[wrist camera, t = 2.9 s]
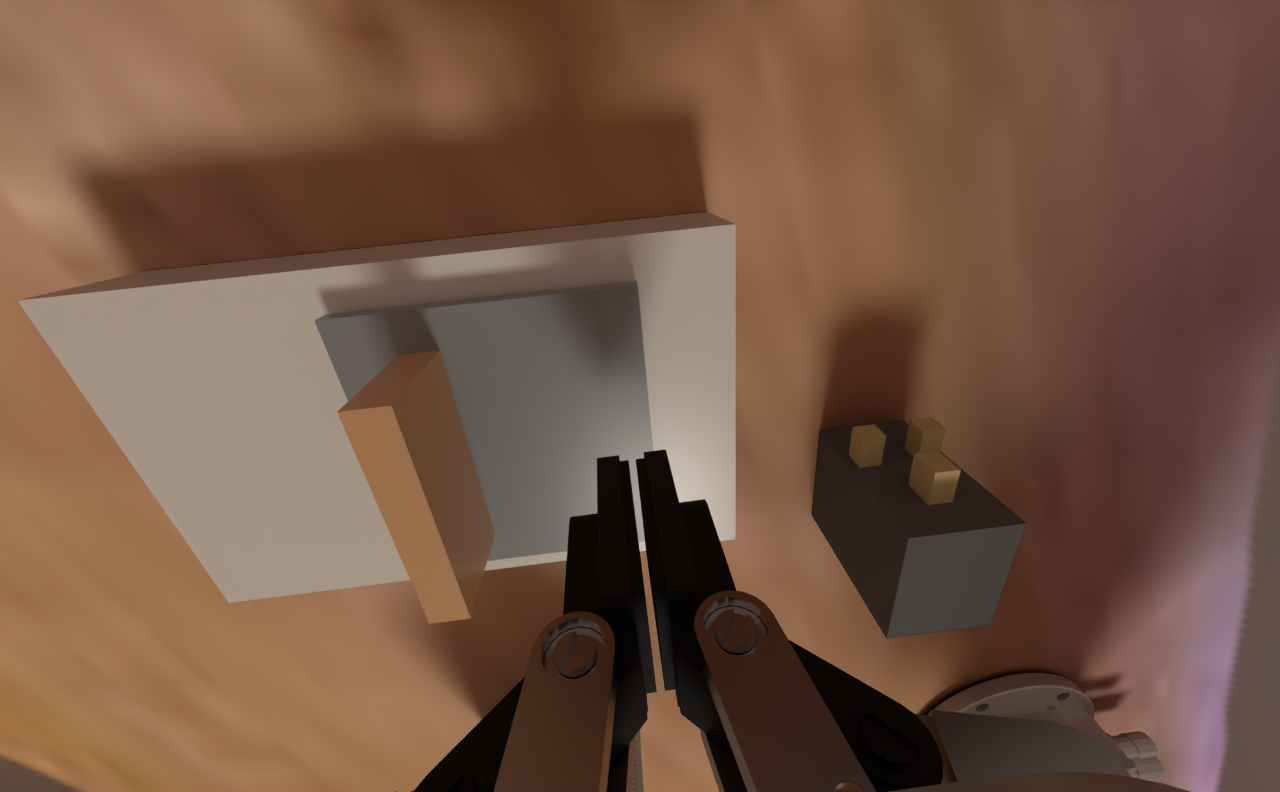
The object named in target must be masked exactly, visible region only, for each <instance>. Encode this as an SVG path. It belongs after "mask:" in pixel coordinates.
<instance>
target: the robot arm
mask: <svg viewBox="0 0 1280 792" xmlns="http://www.w3.org/2000/svg"><path fill="white" fill-rule="evenodd" d="M636 467H637V476H638V485H639V494H640V502H641V511H642V520H643V529H644V537H645V546H646V554H647V561H648V568H649V576H650V583H651V590H652V598H653V605H654V612H655V620H656V627H657V634H658V642H659V649H660V657H661V664H662V671H663V679H664V686H665V691H666V690H673V689H675V690H676V696H677V703H678V707H680V711H681V714H682V715H683V716H685V717H686V718H687V719H688V720H690V721H691V722H692V723H693V724H695V725H696V726H697V727H699V728H700V731H701V737H702V740H703V743H704V746H705V750H706V753H707V756H708V759H709V762H710V765H711V768H712V771H713V774H714V777H715V780H716V783H717V786H718V789H719V792H1190V791H1187V790H1183V789H1180V788H1177V787H1173V786H1170V785H1167V784H1163V783H1158V782H1153V781H1154V780H1161V779H1162V778H1164V769H1163V766H1162V764H1161V762H1160V761H1159V760H1158V758H1157V757H1156V756H1157V754H1158V750H1157V747H1156V745H1155V743H1154V742H1153V741H1152V739H1151V738H1150V737H1149V736H1147V735H1146V734H1145V733H1143V732H1140V731H1137V732H1129V733H1122V734H1119V735H1117V736H1111V735H1109V734H1108V733H1106V732H1105V731H1104V730H1103V729H1102V728H1101V727H1100V726H1099V725H1098V723H1097V722H1096V721H1095V720H1094V706H1093V704H1092V701H1091V700H1090V699H1089V697H1088V696H1087V695H1086V694H1085V693H1084V692H1083V691H1082V690H1081V689H1080V688H1079V686H1078V685H1077V684H1075V683H1074V682H1072V681H1071V680H1069V679H1067V678H1064V677H1061V676H1058V675H1054V674H1047V673H1021V674H1014V675H1007V676H1003V677H999V678H995V679H991V680H988V681H985V682H982V683H980V684H977V685H974V686H972V687H969V688H967V689H965V690H963V691H961V692H959V693H957V694H955V695H953V696H952V697H950V698H948V699H947V700H945V701H943V702H942V703H940V704H939V705H938V706H937V707H935V708H934V709H933V710H930V712H929V713H928V714H927V715H919V714H914V713H912V712H911V711H909V710H908V709H907V708H905V707H904V706H903V705H901V704H900V703H898V702H896V701H894V700H893V699H891V698H889V697H887V696H886V695H884V694H882V693H881V692H879V691H877V690H875V689H874V688H872V687H870V686H868V685H867V684H865V683H863V682H861V681H860V680H858V679H856V678H854V677H853V676H851V675H849V674H847V673H846V672H844V671H842V670H840V669H839V668H837V667H835V666H833V665H832V664H830V663H828V662H827V661H825V660H823V659H821V658H820V657H818V656H816V655H814V654H813V653H811V652H809V651H807V650H806V649H804V648H802V647H800V646H799V645H797V644H795V643H793V642H792V641H790V640H788V639H787V637H786V635H785V633H784V632H783V630H782V628H781V626H780V625H779V623H778V621H777V620H776V618H775V616H774V614H773V613H772V612H771V610H770V609H769V608H768V607H767V605H766V604H765V603H763V602H762V601H761V600H759V599H758V598H757V597H755V596H753V595H750V594H748V593H745V592H740V591H736V588H735V585H734V582H733V579H732V576H731V573H730V570H729V567H728V564H727V561H726V558H725V555H724V552H723V549H722V546H721V543H720V540H719V537H718V534H717V531H716V528H715V525H714V522H713V519H712V516H711V513H710V510H709V507H708V504H707V502H706V500H705V499H703V500H695V501H687V502H680V503H679V500H678V496H677V492H676V488H675V484H674V480H673V476H672V472H671V468H670V464H669V460H668V456H667V452H666V450H665V449H664V450H656V451H649V452H644V458H641V459H636ZM653 692H657V691H656V683H655V675H654V666H653V658H652V650H651V641H650V633H649V625H648V616H647V608H646V600H645V591H644V583H643V575H642V566H641V558H640V550H639V541H638V533H637V525H636V517H635V509H634V501H633V493H632V485H631V476H630V468H629V460H625V461H620V458H619V455H617V456H609V457H601V458H597V513H596V514H588V515H581V516H573V517H570V520H569V532H568V548H567V563H566V579H565V595H564V610H563V616H561V617H558V618H556V619H555V620H554V621H552V622H551V623H550V624H548V625H547V626H546V627H545V628H544V630H543V631H542V632H541V633H540V635H539V636H538V638H537V640H536V643H535V645H534V647H533V650H532V654H531V658H530V661H529V665H528V668H527V672H526V676H525V677H524V678H523V679H522V680H521V681H520V682H519V683H518V684H517V685H516V686H515V687H514V688H513V689H512V690H511V691H510V692H509V693H508V694H507V695H506V696H505V697H504V698H503V699H502V700H501V701H500V702H499V703H498V704H497V705H496V706H495V707H494V708H493V709H492V710H491V711H490V712H489V713H488V714H487V715H486V716H485V717H484V718H483V719H482V720H481V721H480V722H479V723H478V724H477V725H476V726H475V727H474V728H473V729H472V730H471V731H470V732H469V733H468V734H467V735H466V736H465V737H464V738H463V739H462V740H461V741H460V742H459V743H458V744H457V745H456V746H455V747H454V748H453V749H452V750H451V751H450V752H449V753H448V754H447V755H446V756H445V757H444V758H443V759H442V760H441V761H440V762H439V763H438V765H437V766H436V767H435V768H434V769H433V770H432V771H431V772H430V773H429V774H428V775H427V776H426V777H425V778H424V779H423V780H422V782H421V783H420V784H419V785H418V787H417V788H416V789H415V790H413V791H411V792H630V791H631V775H632V759H633V740H632V739H633V738H634V737H635V735H636V734H637V733H638V731H639V730H640V728H641V727H642V726H643V724H644V723H645V722H646V720H647V719H648V718H647V711H648V706H647V696H646V693H653ZM395 792H396V791H395Z"/></svg>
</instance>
